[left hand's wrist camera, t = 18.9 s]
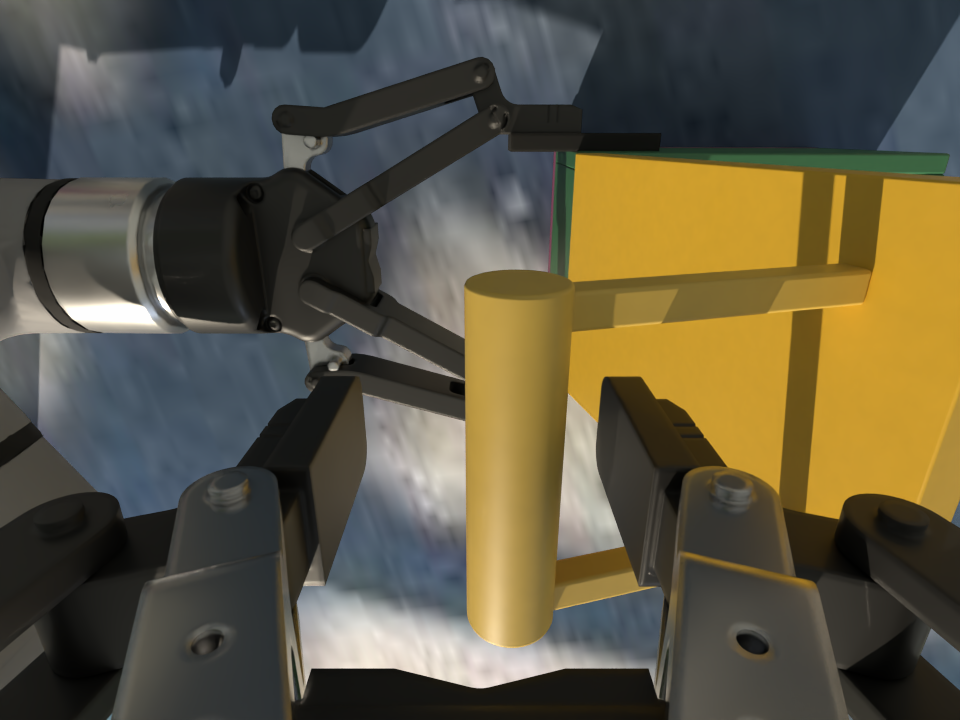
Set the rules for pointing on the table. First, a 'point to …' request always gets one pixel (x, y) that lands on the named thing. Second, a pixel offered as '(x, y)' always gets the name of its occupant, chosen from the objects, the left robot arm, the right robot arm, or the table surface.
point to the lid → (714, 353)
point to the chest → (757, 155)
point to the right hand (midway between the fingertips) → (638, 257)
